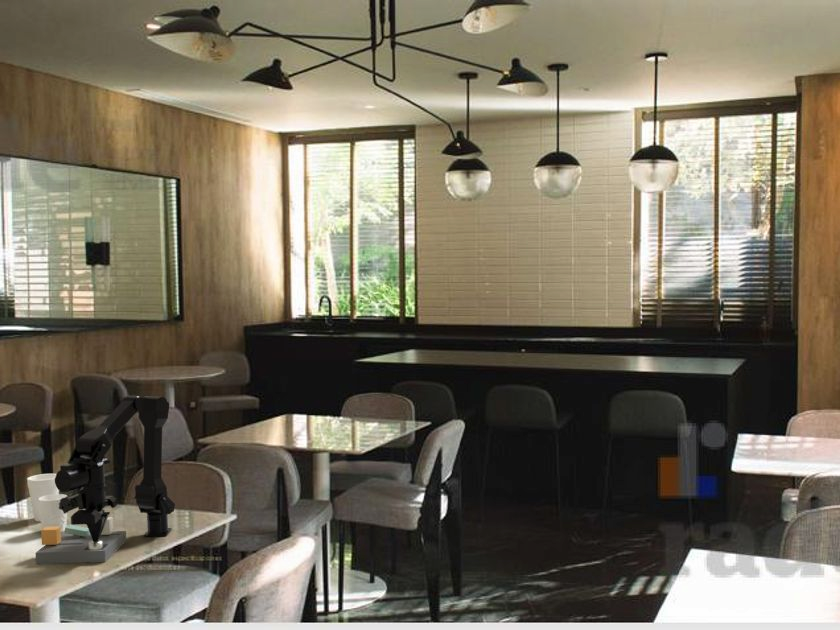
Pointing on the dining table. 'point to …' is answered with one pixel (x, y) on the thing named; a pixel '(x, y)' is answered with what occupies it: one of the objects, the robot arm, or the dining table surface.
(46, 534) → the fader orange
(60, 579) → the dining table surface
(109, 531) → the beige block
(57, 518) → the white cup
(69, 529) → the rocker teal
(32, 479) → the foam cup
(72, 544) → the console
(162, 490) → the robot arm
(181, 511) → the dining table surface
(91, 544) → the clear cube
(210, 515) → the dining table surface
